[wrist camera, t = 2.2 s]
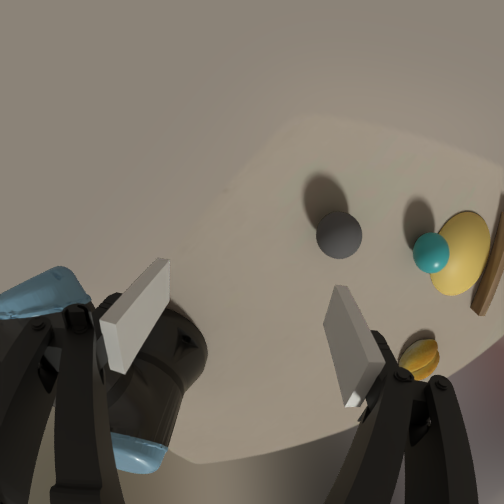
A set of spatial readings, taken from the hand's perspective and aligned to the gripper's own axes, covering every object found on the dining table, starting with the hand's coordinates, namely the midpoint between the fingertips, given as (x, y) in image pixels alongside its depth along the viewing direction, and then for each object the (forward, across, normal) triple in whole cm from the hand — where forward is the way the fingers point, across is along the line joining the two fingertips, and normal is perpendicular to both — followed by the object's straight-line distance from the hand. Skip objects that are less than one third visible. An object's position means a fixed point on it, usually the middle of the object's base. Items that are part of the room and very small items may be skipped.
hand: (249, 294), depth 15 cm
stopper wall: (+20, +41, 0) cm, 45 cm away
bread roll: (+20, +32, -20) cm, 43 cm away
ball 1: (+17, +10, 0) cm, 19 cm away
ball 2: (+17, +24, 0) cm, 29 cm away
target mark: (+20, +32, 0) cm, 38 cm away
